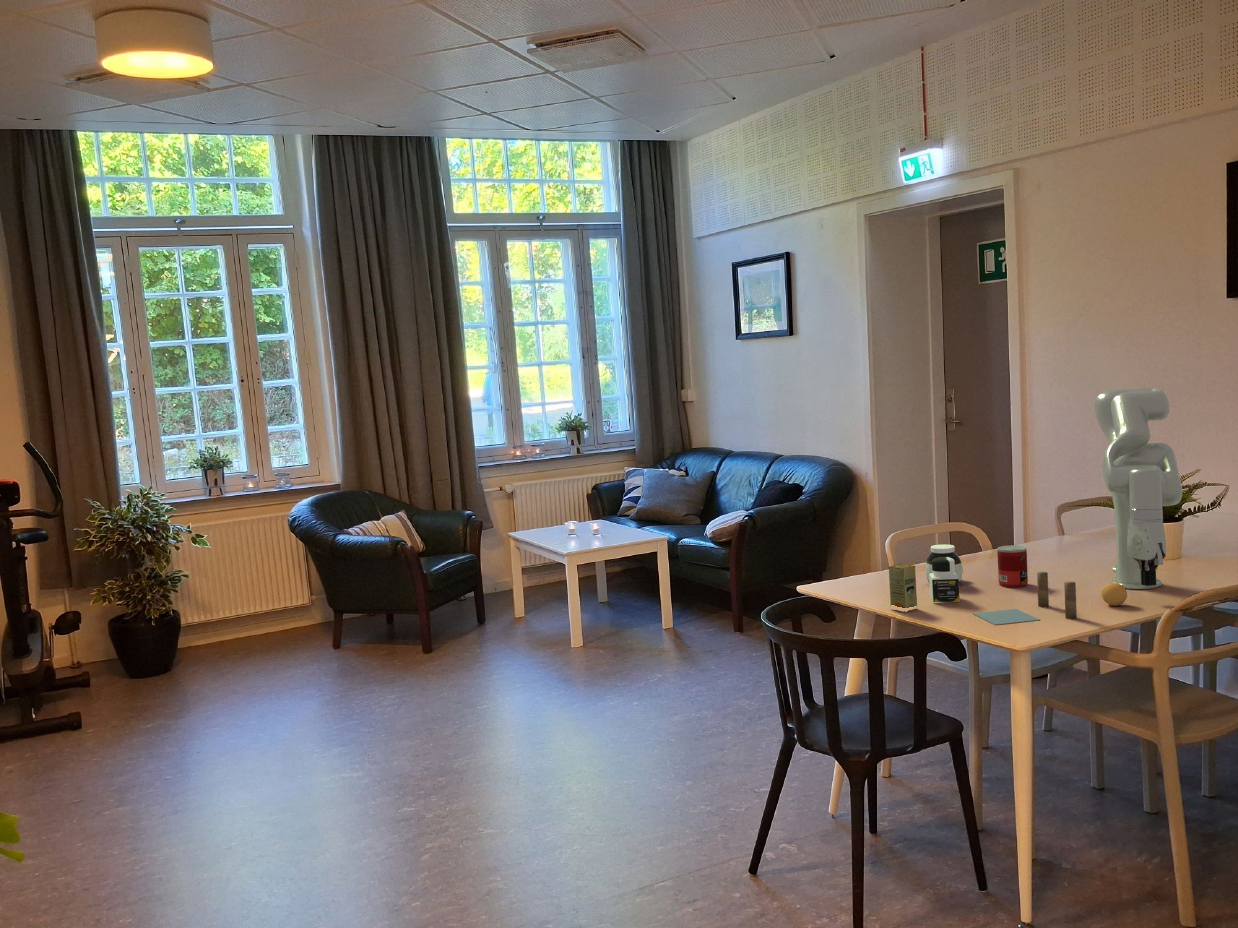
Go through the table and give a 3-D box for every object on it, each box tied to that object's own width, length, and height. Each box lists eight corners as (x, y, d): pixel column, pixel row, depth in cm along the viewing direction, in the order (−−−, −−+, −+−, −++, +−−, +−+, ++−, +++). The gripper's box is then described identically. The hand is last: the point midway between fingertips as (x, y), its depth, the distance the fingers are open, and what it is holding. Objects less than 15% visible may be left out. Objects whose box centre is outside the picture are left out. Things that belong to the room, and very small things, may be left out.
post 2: (1063, 616, 259) (1062, 582, 258) (1073, 615, 259) (1071, 581, 258) (1069, 619, 256) (1067, 584, 255) (1078, 618, 256) (1077, 583, 256)
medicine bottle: (933, 603, 282) (931, 561, 281) (930, 597, 289) (928, 556, 288) (960, 602, 280) (958, 560, 279) (956, 596, 287) (954, 555, 286)
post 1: (1036, 605, 272) (1035, 572, 271) (1045, 604, 272) (1044, 571, 271) (1041, 607, 269) (1040, 574, 268) (1050, 606, 269) (1049, 573, 268)
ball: (1097, 603, 268) (1096, 581, 268) (1118, 601, 269) (1117, 579, 268) (1110, 609, 262) (1110, 586, 262) (1132, 606, 263) (1131, 584, 263)
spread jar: (930, 589, 299) (929, 550, 298) (920, 580, 310) (918, 543, 309) (972, 586, 298) (970, 547, 297) (960, 578, 310) (958, 540, 309)
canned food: (1027, 588, 291) (1025, 550, 290) (997, 587, 294) (996, 550, 293) (1028, 582, 298) (1027, 545, 297) (999, 581, 301) (998, 545, 300)
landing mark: (973, 614, 268) (972, 613, 268) (1016, 609, 269) (1016, 608, 269) (995, 625, 256) (995, 624, 256) (1040, 620, 257) (1040, 619, 257)
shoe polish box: (890, 609, 278) (888, 566, 277) (902, 606, 281) (900, 563, 280) (905, 612, 275) (903, 568, 273) (917, 608, 278) (915, 565, 276)
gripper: (1115, 513, 271) (1118, 581, 272) (1151, 519, 256) (1153, 591, 257) (1141, 511, 272) (1144, 579, 273) (1178, 516, 257) (1181, 588, 258)
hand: (1148, 584), depth 265 cm, fingers closed
